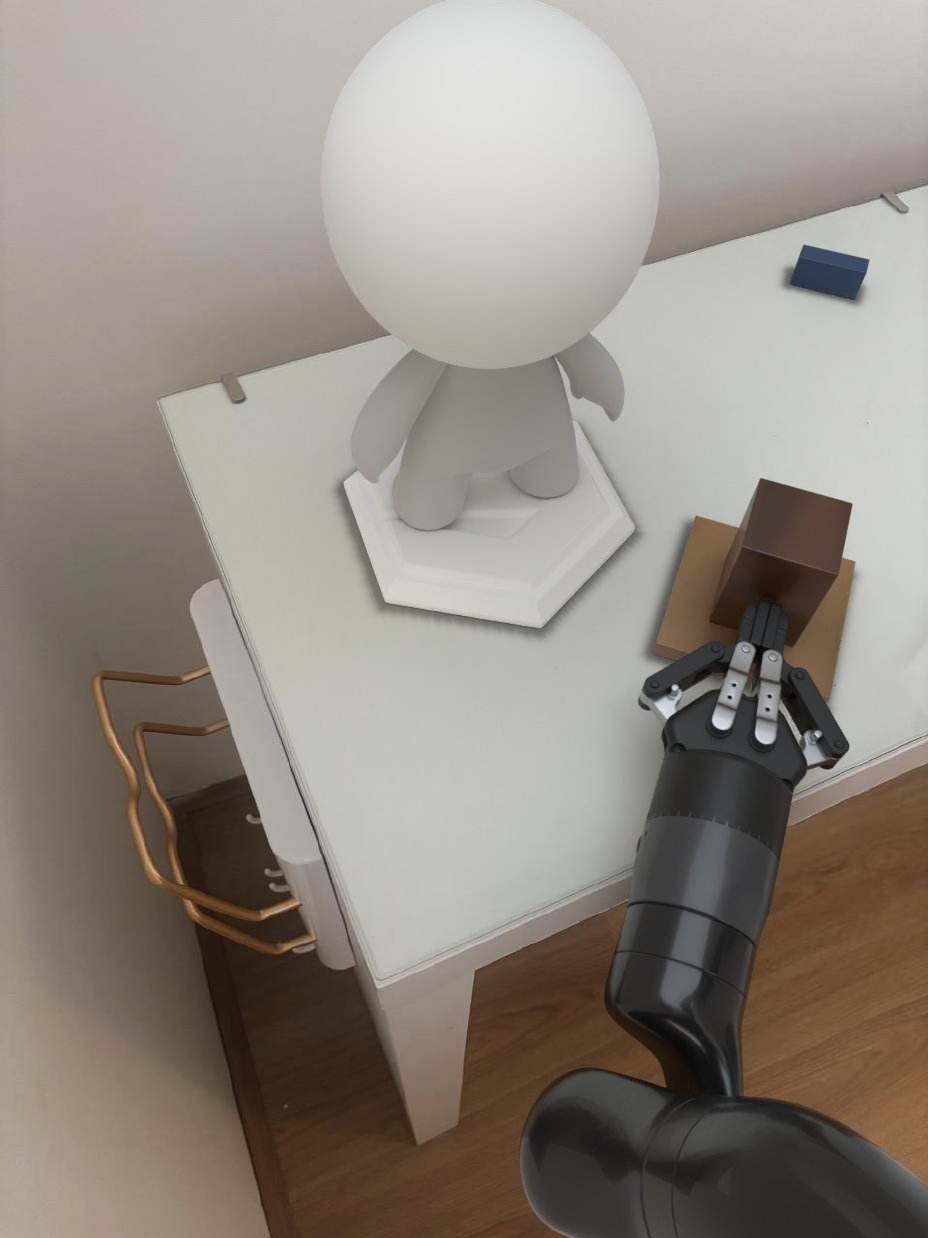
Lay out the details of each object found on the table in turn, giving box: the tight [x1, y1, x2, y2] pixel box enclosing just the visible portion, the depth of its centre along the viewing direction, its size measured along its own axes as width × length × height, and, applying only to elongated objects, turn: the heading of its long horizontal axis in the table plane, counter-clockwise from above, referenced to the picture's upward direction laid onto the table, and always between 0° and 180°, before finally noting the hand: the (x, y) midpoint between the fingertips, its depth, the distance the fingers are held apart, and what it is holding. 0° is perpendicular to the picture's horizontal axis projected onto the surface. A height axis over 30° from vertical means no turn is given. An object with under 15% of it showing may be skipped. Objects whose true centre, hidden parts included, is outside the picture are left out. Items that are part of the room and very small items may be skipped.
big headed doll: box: [320, 0, 660, 629], centre depth 57 cm, size 20×23×35 cm
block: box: [652, 477, 856, 703], centre depth 62 cm, size 12×12×10 cm
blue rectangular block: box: [789, 244, 870, 300], centre depth 84 cm, size 6×2×3 cm, turn 69°
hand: (767, 608), depth 60 cm, fingers closed
